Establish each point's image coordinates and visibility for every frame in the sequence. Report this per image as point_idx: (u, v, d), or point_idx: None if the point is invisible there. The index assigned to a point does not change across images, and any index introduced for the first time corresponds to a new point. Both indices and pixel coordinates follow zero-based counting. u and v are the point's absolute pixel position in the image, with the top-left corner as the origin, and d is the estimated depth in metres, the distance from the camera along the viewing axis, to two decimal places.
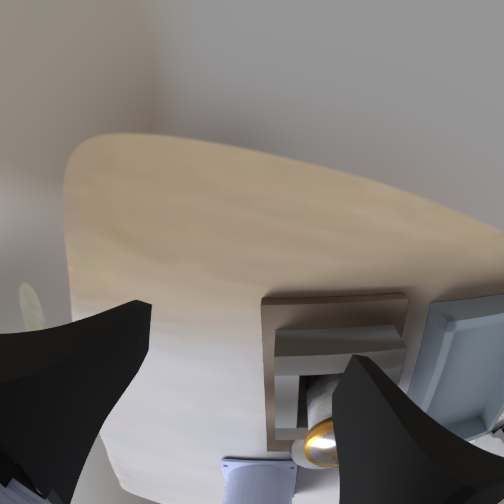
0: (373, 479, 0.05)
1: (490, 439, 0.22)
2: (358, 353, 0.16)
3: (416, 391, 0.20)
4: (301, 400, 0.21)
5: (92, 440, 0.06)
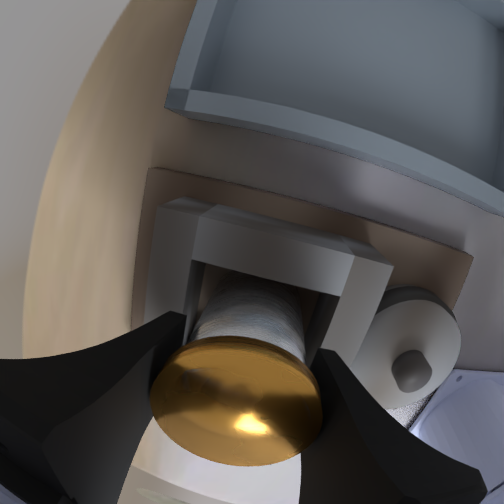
0: (327, 478, 0.05)
1: None
2: (147, 291, 0.11)
3: (361, 156, 0.11)
4: None
5: (131, 457, 0.06)
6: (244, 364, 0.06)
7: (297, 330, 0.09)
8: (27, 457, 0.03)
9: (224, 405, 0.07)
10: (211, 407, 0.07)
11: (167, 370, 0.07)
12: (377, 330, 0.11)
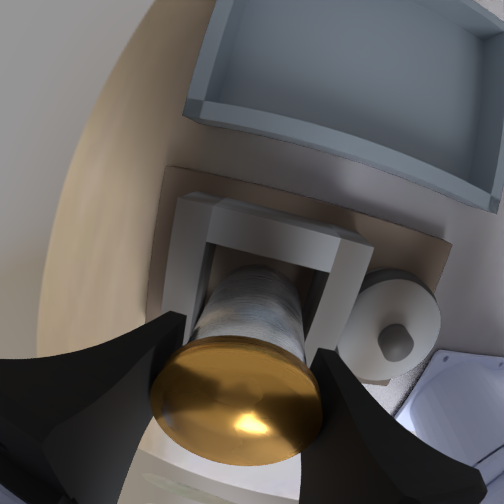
0: (326, 478, 0.05)
1: None
2: (167, 270, 0.13)
3: (348, 156, 0.13)
4: None
5: (131, 457, 0.06)
6: (244, 363, 0.06)
7: (297, 330, 0.09)
8: (27, 457, 0.03)
9: (225, 405, 0.07)
10: (211, 407, 0.07)
11: (167, 369, 0.07)
12: (363, 304, 0.13)
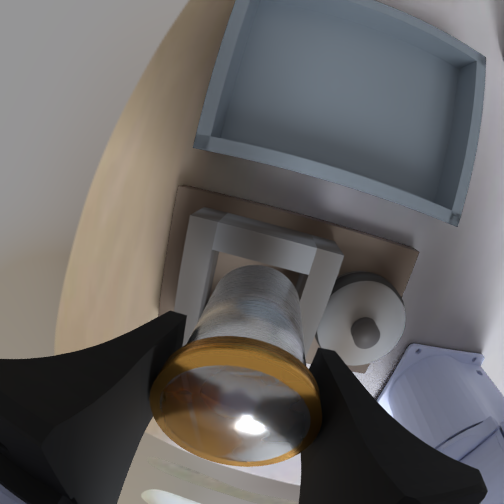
0: (327, 478, 0.05)
1: None
2: (180, 271, 0.16)
3: None
4: None
5: (131, 457, 0.06)
6: (243, 364, 0.06)
7: (297, 330, 0.09)
8: (27, 457, 0.03)
9: (224, 406, 0.07)
10: (211, 407, 0.07)
11: (166, 370, 0.07)
12: (337, 301, 0.16)
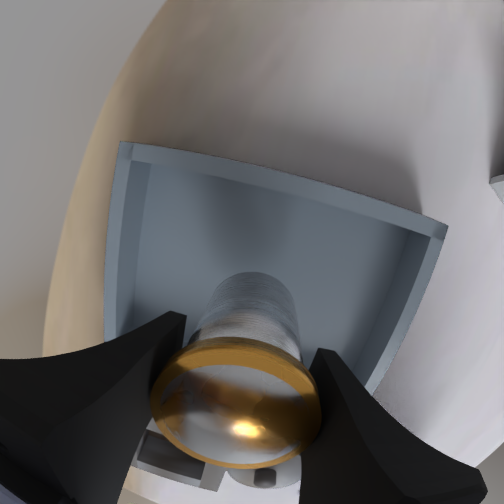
0: (327, 478, 0.05)
1: None
2: None
3: None
4: None
5: (131, 457, 0.06)
6: (245, 363, 0.06)
7: (294, 334, 0.10)
8: (27, 457, 0.03)
9: (225, 406, 0.07)
10: (211, 408, 0.07)
11: (168, 370, 0.07)
12: None
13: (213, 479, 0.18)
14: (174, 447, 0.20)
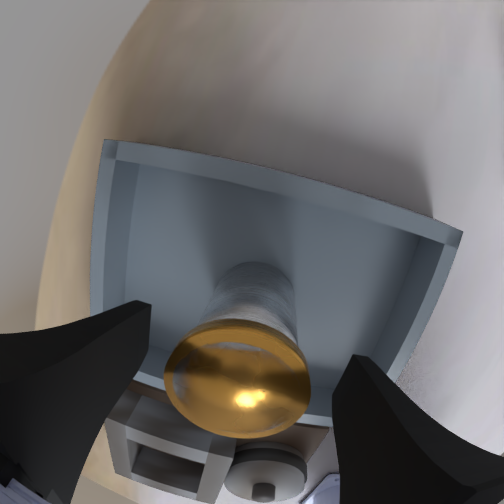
0: (373, 479, 0.05)
1: None
2: (109, 442, 0.16)
3: None
4: None
5: (92, 440, 0.06)
6: (245, 340, 0.08)
7: (291, 318, 0.11)
8: None
9: (228, 378, 0.08)
10: (217, 380, 0.08)
11: (180, 347, 0.08)
12: (236, 473, 0.16)
13: (210, 493, 0.16)
14: (169, 459, 0.19)
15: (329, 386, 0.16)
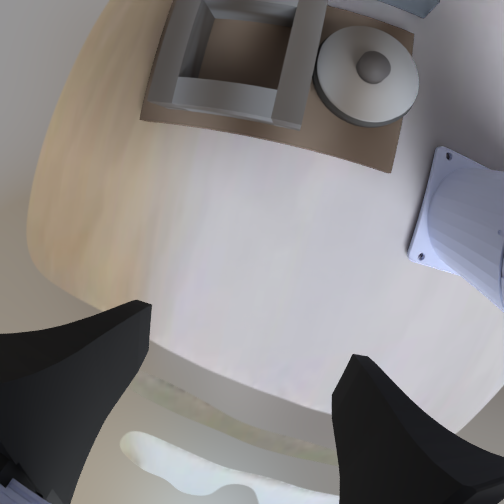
0: (373, 479, 0.05)
1: None
2: (170, 21, 0.12)
3: None
4: None
5: (92, 440, 0.06)
6: None
7: None
8: None
9: None
10: None
11: None
12: (333, 37, 0.12)
13: (298, 80, 0.13)
14: None
15: None
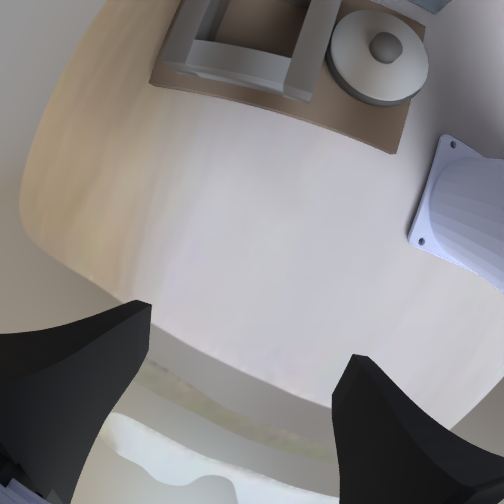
0: (373, 479, 0.05)
1: None
2: None
3: None
4: None
5: (92, 440, 0.06)
6: None
7: None
8: None
9: None
10: None
11: None
12: (349, 17, 0.12)
13: (312, 52, 0.12)
14: None
15: None
